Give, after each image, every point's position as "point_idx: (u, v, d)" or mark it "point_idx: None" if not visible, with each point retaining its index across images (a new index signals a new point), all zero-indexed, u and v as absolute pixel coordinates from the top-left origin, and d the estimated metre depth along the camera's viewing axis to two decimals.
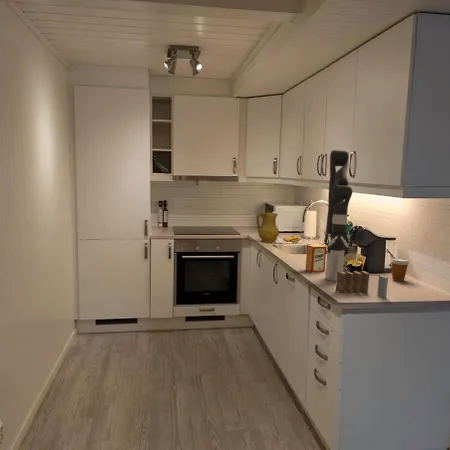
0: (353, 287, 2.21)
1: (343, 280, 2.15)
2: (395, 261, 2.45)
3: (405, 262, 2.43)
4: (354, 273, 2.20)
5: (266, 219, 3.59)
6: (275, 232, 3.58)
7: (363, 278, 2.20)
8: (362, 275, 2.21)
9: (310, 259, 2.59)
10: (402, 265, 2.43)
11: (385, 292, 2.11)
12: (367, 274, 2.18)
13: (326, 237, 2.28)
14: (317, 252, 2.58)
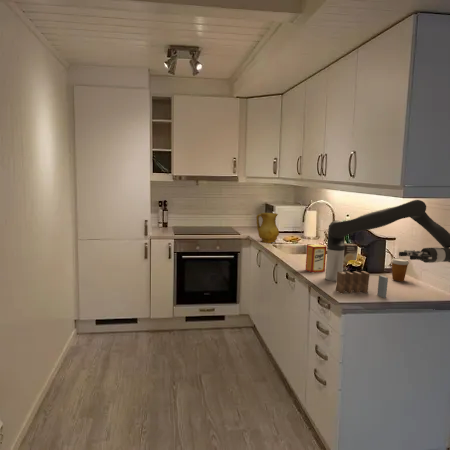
0: (353, 287, 2.21)
1: (343, 280, 2.15)
2: (395, 261, 2.45)
3: (405, 262, 2.43)
4: (354, 273, 2.20)
5: (266, 219, 3.59)
6: (275, 232, 3.58)
7: (363, 278, 2.20)
8: (362, 275, 2.21)
9: (310, 259, 2.59)
10: (402, 265, 2.43)
11: (385, 292, 2.11)
12: (367, 274, 2.18)
13: None
14: (317, 252, 2.58)
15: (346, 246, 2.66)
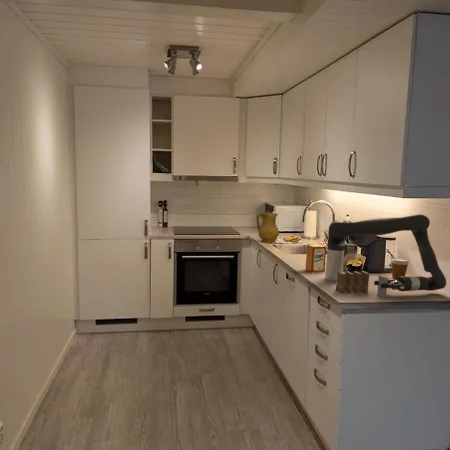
0: (353, 287, 2.21)
1: (343, 280, 2.15)
2: (395, 261, 2.45)
3: (405, 262, 2.43)
4: (354, 273, 2.20)
5: (266, 219, 3.59)
6: (275, 232, 3.58)
7: (363, 278, 2.20)
8: (362, 275, 2.21)
9: (310, 259, 2.59)
10: (402, 265, 2.43)
11: (385, 292, 2.11)
12: (367, 274, 2.18)
13: None
14: (317, 252, 2.58)
15: (346, 246, 2.66)
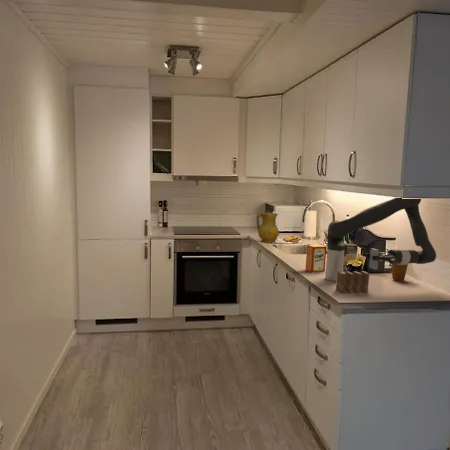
0: (353, 287, 2.21)
1: (343, 280, 2.15)
2: None
3: None
4: (354, 273, 2.20)
5: (266, 219, 3.59)
6: (275, 232, 3.58)
7: (363, 278, 2.20)
8: (362, 275, 2.21)
9: (310, 259, 2.59)
10: (402, 265, 2.43)
11: (376, 264, 2.18)
12: (367, 274, 2.18)
13: None
14: (317, 252, 2.58)
15: (346, 246, 2.66)
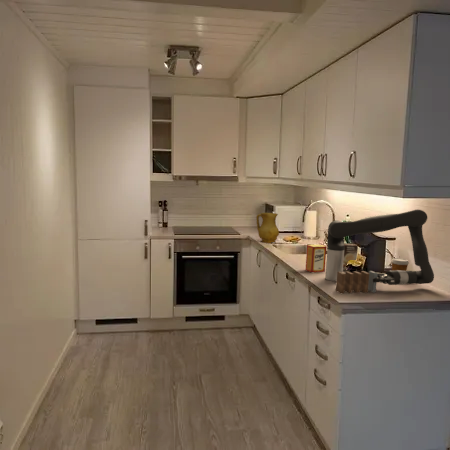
0: (353, 287, 2.21)
1: (343, 280, 2.15)
2: (395, 261, 2.45)
3: (405, 262, 2.43)
4: (354, 273, 2.20)
5: (266, 219, 3.59)
6: (275, 232, 3.58)
7: (363, 278, 2.20)
8: (362, 275, 2.21)
9: (310, 259, 2.59)
10: (402, 265, 2.43)
11: (375, 287, 2.20)
12: (367, 274, 2.18)
13: None
14: (317, 252, 2.58)
15: (346, 246, 2.66)
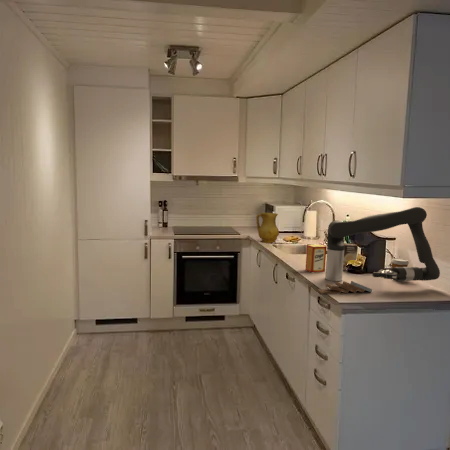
0: None
1: (328, 293, 2.14)
2: (395, 261, 2.45)
3: (405, 262, 2.43)
4: (337, 285, 2.18)
5: (266, 219, 3.59)
6: (275, 232, 3.58)
7: None
8: None
9: (310, 259, 2.59)
10: (402, 265, 2.43)
11: (368, 289, 2.19)
12: (348, 285, 2.16)
13: None
14: (317, 252, 2.58)
15: (346, 246, 2.66)
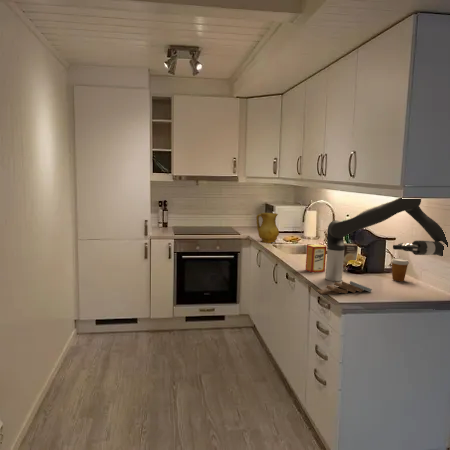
0: None
1: (327, 293, 2.13)
2: (395, 261, 2.45)
3: (405, 262, 2.43)
4: (336, 285, 2.17)
5: (266, 219, 3.59)
6: (275, 232, 3.58)
7: None
8: None
9: (310, 259, 2.59)
10: (402, 265, 2.43)
11: (367, 288, 2.19)
12: (347, 285, 2.16)
13: None
14: (317, 252, 2.58)
15: (346, 246, 2.66)
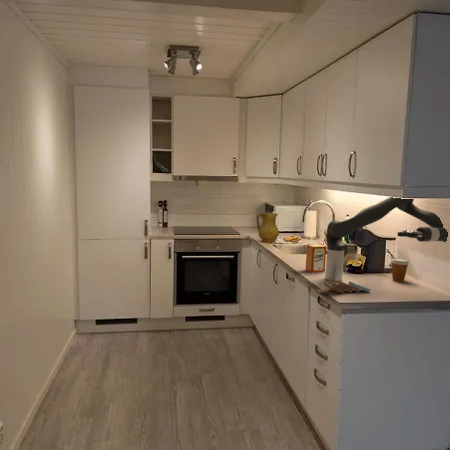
0: None
1: (326, 293, 2.13)
2: (395, 261, 2.45)
3: (405, 262, 2.43)
4: None
5: (266, 219, 3.59)
6: (275, 232, 3.58)
7: None
8: None
9: (310, 259, 2.59)
10: (402, 265, 2.43)
11: (365, 289, 2.19)
12: (344, 285, 2.16)
13: (417, 238, 2.17)
14: (317, 252, 2.58)
15: (346, 246, 2.66)
